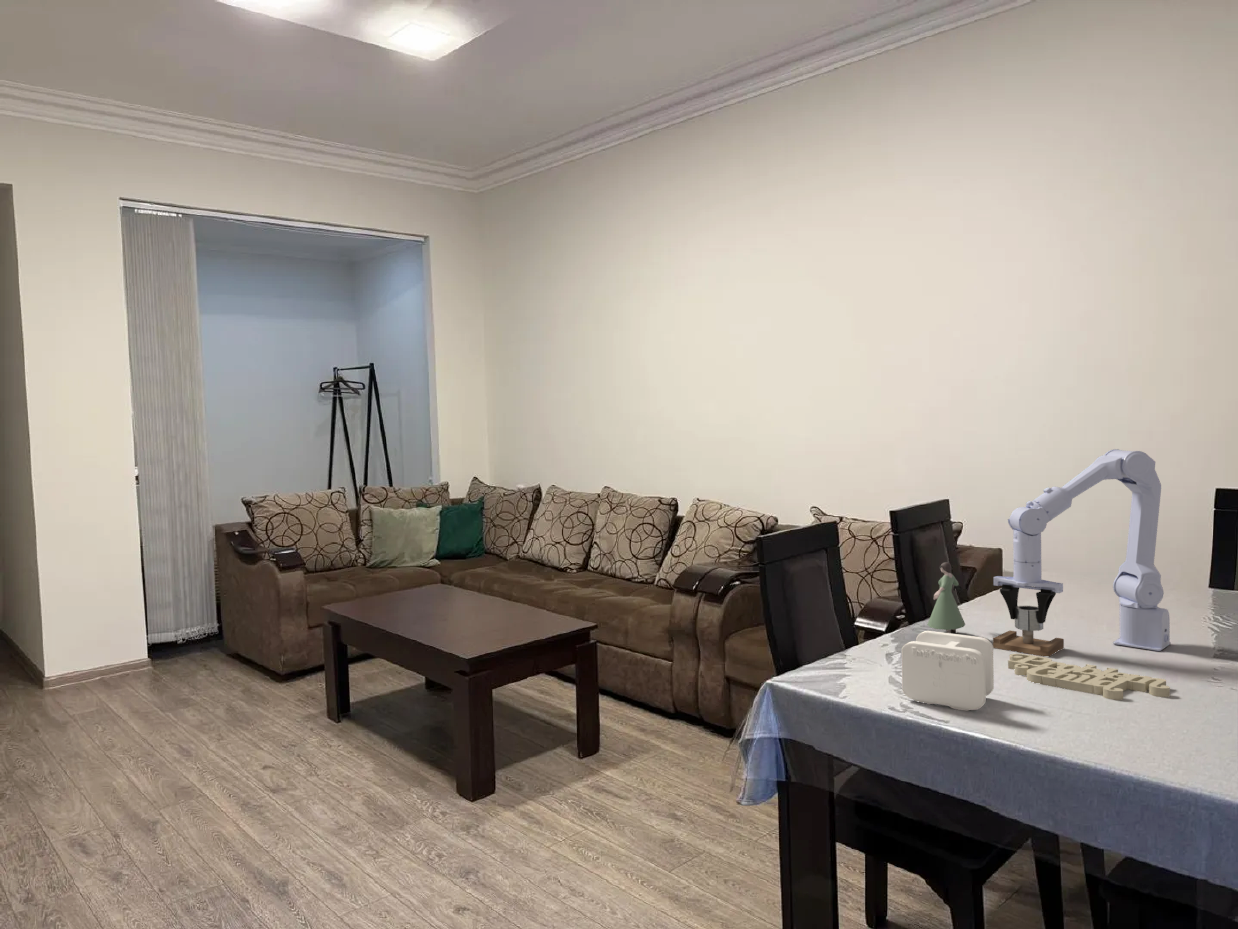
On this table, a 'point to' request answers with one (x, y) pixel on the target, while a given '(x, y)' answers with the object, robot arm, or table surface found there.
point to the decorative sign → (1085, 677)
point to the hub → (1027, 618)
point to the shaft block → (1027, 643)
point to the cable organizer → (948, 670)
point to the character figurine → (946, 603)
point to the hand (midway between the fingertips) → (1027, 620)
